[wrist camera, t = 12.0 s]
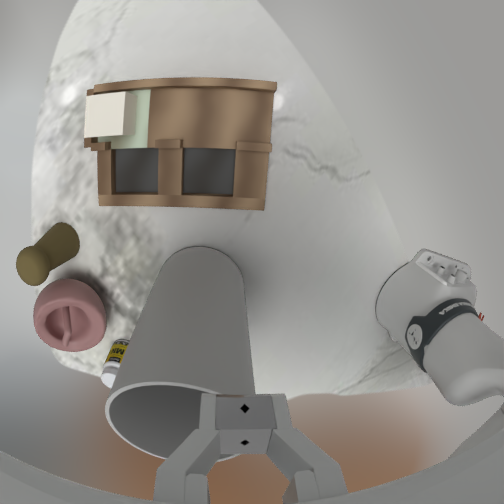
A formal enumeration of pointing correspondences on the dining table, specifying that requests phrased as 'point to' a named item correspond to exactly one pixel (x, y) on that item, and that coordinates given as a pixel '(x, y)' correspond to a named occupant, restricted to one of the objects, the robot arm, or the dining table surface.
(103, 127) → the block
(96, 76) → the dining table surface
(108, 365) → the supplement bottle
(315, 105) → the dining table surface
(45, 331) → the mortar and pestle
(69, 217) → the dining table surface
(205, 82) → the box
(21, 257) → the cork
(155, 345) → the cylinder vase
